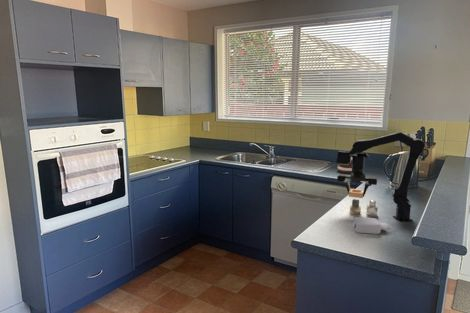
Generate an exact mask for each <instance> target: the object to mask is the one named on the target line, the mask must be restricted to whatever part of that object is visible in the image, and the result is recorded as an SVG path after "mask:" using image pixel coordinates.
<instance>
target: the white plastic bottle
mask: <svg viewBox="0 0 470 313" xmlns="http://www.w3.org/2000/svg"><path fill="white" fill-rule="evenodd" d="M353 227H354V229H355V232H356V233H358V234H370V235H371V234H372V235H373V234H374V235H379V234H381V230H383V231H388V230H389V229H388V228H390V229H392V225H389V224H387V223H386V222H380V221H379V220H378V219H377V218H375V217H362V216H361V217H359V216H354V217H353Z"/></svg>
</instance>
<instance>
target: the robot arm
mask: <svg viewBox="0 0 470 313" xmlns="http://www.w3.org/2000/svg"><path fill="white" fill-rule="evenodd" d="M394 142H400V143H402V144H404V145H406V146H407V147H408V155H407V156H408V157H407V159H406V162H405V166H404V169H403V172H402V175H401V179H400V181H399V184H398V185H397V186H396V185H394V187H393V188H394V189H393V191H392V192H391V197H392V200H393V203H395V204H396V208H395V215H393V216H392V218H394V219H395V220H397V221H399V222H412V221H414V220H413V219H412V218H411V207H412V204H411V201H410V199H409V198H408V189H409V185H410V182H411V179H412V176H413V173H414V169H415V167H416V163H417V161H418V159H419V157H420V156H421V155H422V153H423V151H424V149H425V143H424V142H423V140H422V139H420V138H414V137H411V136H409V135H407V134H405V133H403V132H402V131H397V132H394V133H391V134H387V135H383V136H379V137H375V138H370V139H369V138H368V139H365V138H364V139H357V140H355V141H354V143H353V144H352V147H351V149H349V151H343V150H338V151H337V154H336V162H335V164H336V165H339V164H343V165H348V164H349V163H351V157H352V172H351V174H349V175H350V176H349V175H348V174H344V173H339V174H338V176H336V179H337V180H336V181H337V182H342V184H344V185H345V188H346V191H347V195H349V191H350V189H351V184H350V183H352V184H361V183H362V182H364V187H363V188H364V189H363V190H364V192H363V198H364V197H365V195H366V193H367V191H368V188H369V187H371V186H372V185H373V186H377V184H378V179H379V178H378V177H377V176H368V177H367V176H366V173H365V171H364V170H365V158H369V156H370V155H369V154H368V153H367V152H366V151H369V149H372V148H374V147H379V146H382V145H383V146H384V145H387V144H390V143H394ZM353 154H356V155H353Z"/></svg>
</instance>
